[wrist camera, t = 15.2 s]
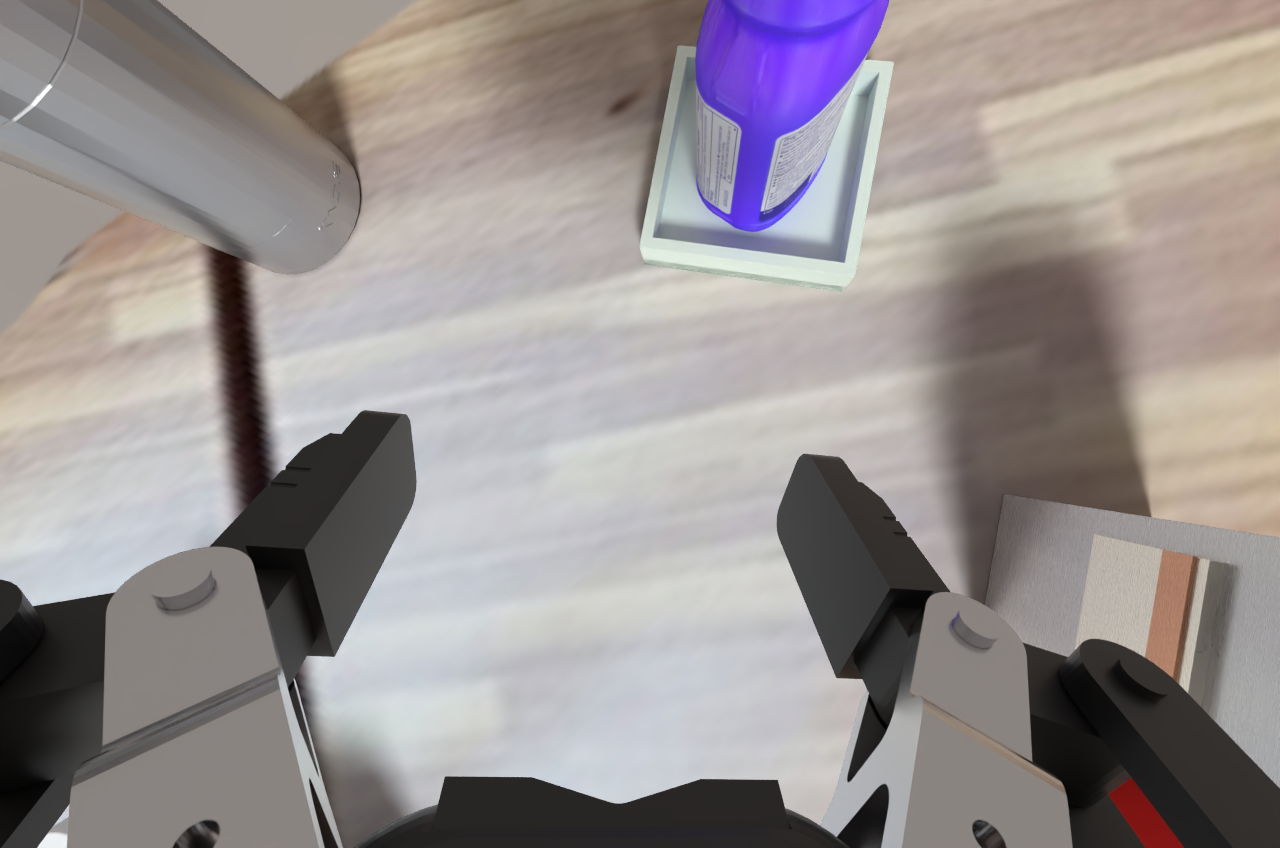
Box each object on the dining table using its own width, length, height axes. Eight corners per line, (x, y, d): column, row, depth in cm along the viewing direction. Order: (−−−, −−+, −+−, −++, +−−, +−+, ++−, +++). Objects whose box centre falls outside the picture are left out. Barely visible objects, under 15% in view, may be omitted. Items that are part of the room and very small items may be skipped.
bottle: (757, 97, 28) (844, -486, 10) (842, 150, 27) (1087, -381, 10) (678, 202, 28) (636, -192, 11) (760, 258, 27) (857, -69, 10)
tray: (644, 263, 29) (639, 246, 26) (680, 79, 29) (678, 45, 27) (841, 291, 27) (855, 276, 25) (876, 96, 28) (893, 61, 25)
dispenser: (967, 643, 26) (1276, 874, 12) (993, 492, 26) (1329, 544, 12) (1135, 681, 25) (1696, 987, 11) (1162, 523, 25) (1746, 621, 11)
